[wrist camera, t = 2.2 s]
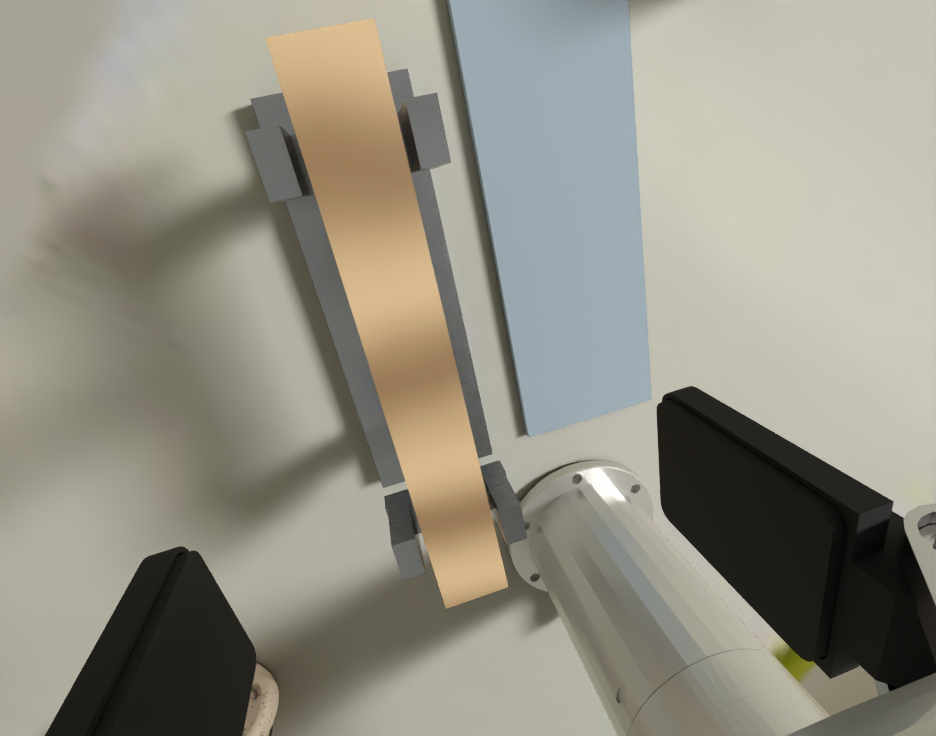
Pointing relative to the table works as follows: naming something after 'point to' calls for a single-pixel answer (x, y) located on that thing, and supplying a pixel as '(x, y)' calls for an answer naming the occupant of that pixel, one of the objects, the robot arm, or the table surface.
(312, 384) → the table surface
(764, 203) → the table surface
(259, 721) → the teacup with lid
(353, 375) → the stand
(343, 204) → the oak rail
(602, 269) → the slate mat
